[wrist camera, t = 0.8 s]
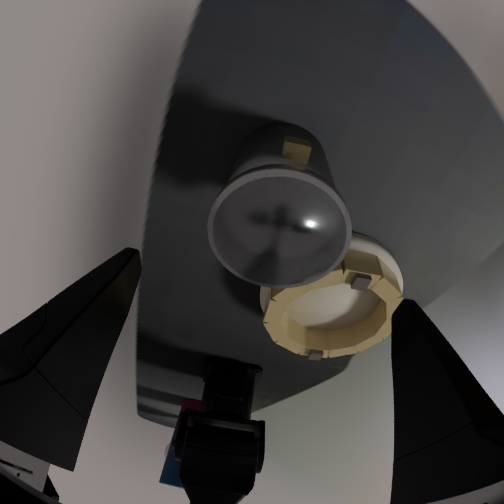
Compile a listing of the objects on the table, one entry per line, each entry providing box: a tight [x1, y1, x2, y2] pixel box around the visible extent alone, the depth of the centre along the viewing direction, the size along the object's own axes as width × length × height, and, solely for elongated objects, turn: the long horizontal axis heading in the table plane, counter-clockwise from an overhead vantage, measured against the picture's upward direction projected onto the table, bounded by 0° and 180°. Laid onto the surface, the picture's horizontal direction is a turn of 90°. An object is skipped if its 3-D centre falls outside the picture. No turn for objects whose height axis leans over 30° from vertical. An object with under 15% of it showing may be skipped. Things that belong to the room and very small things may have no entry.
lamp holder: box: [260, 232, 403, 360], centre depth 21 cm, size 11×11×4 cm
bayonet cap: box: [207, 123, 352, 288], centre depth 14 cm, size 6×5×7 cm
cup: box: [159, 399, 201, 489], centre depth 37 cm, size 7×7×15 cm
